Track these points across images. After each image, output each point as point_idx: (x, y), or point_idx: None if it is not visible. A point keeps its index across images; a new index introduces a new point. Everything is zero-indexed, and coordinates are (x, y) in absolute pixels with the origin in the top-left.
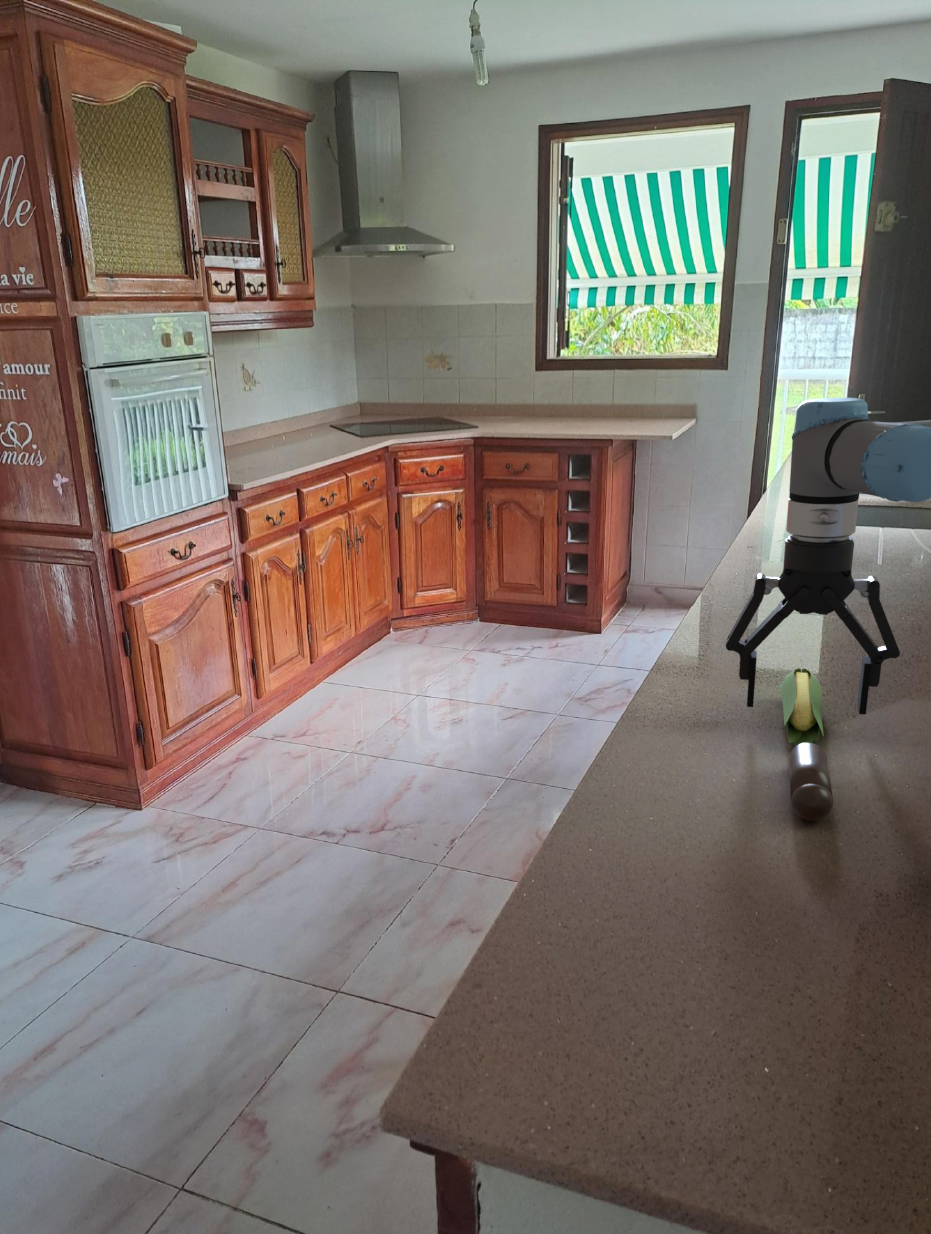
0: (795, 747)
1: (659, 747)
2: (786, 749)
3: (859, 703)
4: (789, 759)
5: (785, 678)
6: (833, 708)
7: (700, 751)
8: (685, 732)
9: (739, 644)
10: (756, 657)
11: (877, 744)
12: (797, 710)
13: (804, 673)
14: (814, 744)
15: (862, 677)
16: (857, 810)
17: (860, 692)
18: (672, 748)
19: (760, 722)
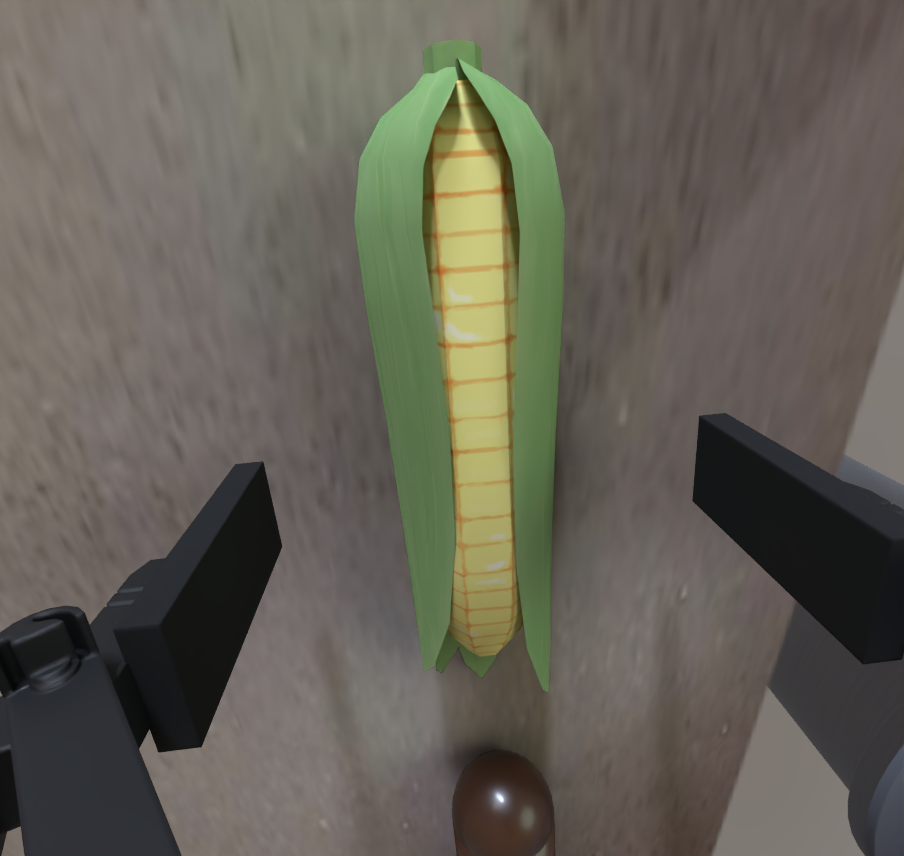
0: (471, 851)
1: None
2: None
3: (713, 494)
4: (455, 839)
5: (376, 224)
6: (596, 212)
7: None
8: (92, 614)
9: (11, 823)
10: (197, 737)
11: (705, 518)
12: (465, 631)
13: (482, 178)
14: (525, 854)
15: (795, 573)
16: (599, 850)
17: (742, 513)
18: None
19: (322, 454)
